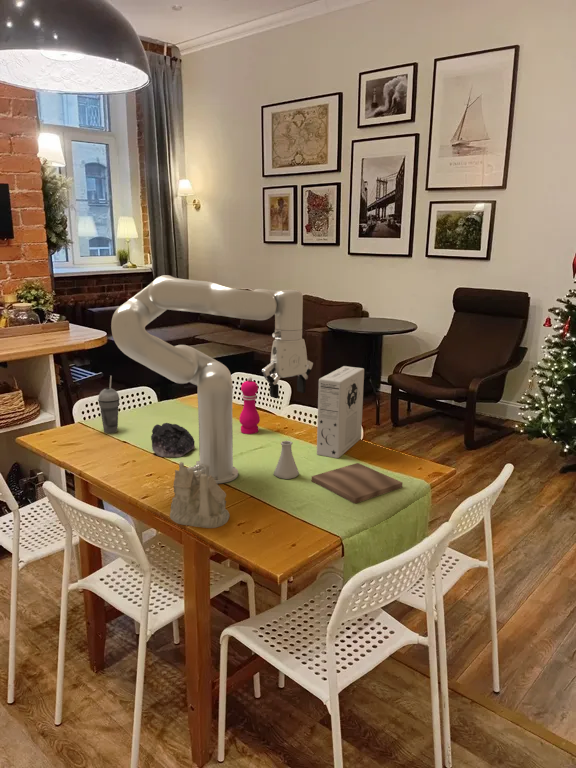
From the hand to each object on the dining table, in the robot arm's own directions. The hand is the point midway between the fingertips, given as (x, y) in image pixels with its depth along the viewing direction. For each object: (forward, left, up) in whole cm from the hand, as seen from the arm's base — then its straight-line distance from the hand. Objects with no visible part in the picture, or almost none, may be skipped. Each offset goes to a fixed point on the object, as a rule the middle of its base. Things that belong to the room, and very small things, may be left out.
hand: (287, 394), depth 169 cm
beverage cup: (-28, +66, -24) cm, 76 cm away
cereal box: (+28, +8, -24) cm, 38 cm away
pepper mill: (+12, +38, -24) cm, 47 cm away
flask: (-1, -1, -24) cm, 24 cm away
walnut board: (+11, -18, -24) cm, 32 cm away
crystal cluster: (-19, +36, -24) cm, 47 cm away
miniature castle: (-32, -8, -24) cm, 41 cm away
